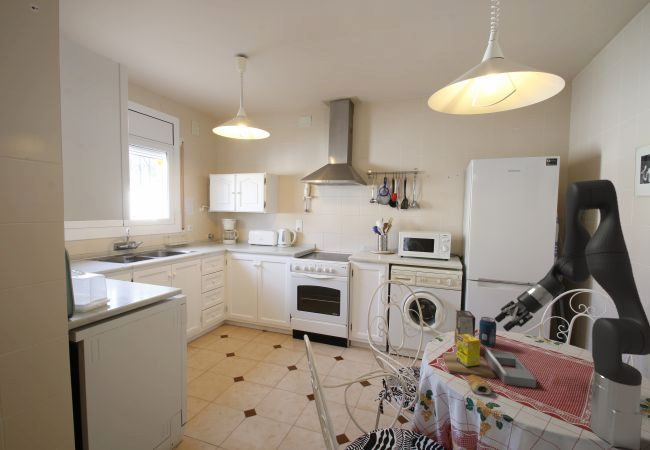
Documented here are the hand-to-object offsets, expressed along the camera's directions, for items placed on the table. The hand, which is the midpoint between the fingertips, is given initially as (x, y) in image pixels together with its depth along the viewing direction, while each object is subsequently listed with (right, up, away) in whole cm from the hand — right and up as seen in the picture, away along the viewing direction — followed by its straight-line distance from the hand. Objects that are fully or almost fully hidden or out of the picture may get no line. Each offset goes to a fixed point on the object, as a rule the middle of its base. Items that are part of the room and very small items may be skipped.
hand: (500, 324), depth 112 cm
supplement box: (-11, -17, +3) cm, 21 cm away
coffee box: (-5, -17, +18) cm, 26 cm away
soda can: (+8, -17, +23) cm, 30 cm away
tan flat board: (-12, -18, +3) cm, 21 cm away
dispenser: (+3, -18, 0) cm, 18 cm away
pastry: (-15, -19, -11) cm, 26 cm away
